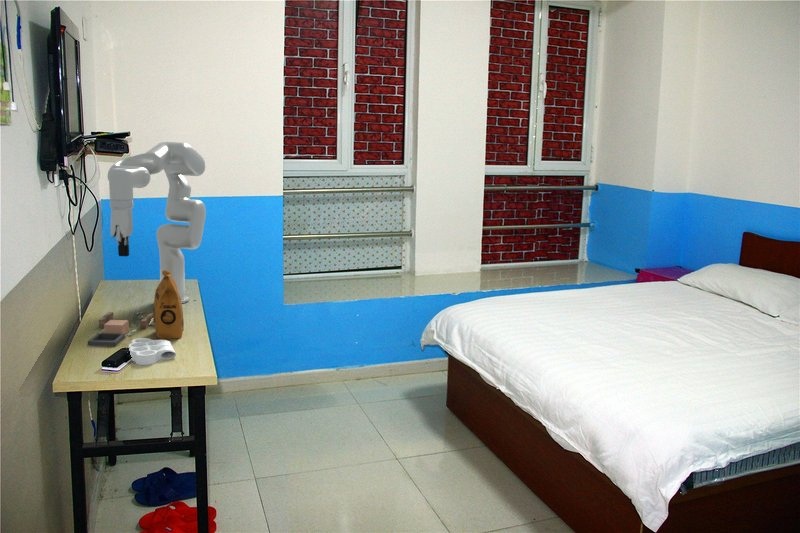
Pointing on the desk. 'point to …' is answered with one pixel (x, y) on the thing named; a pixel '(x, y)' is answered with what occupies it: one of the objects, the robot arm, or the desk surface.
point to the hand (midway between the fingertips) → (123, 255)
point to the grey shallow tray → (106, 339)
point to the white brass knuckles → (150, 350)
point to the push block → (116, 327)
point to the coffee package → (168, 309)
